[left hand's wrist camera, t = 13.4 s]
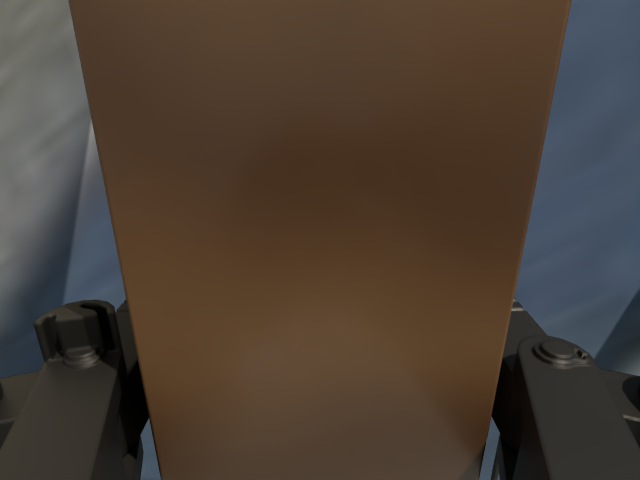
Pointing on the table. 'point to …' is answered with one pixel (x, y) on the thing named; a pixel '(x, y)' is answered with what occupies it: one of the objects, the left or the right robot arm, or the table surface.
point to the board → (320, 221)
